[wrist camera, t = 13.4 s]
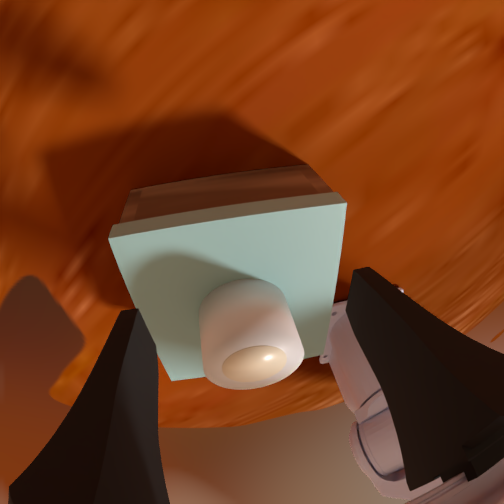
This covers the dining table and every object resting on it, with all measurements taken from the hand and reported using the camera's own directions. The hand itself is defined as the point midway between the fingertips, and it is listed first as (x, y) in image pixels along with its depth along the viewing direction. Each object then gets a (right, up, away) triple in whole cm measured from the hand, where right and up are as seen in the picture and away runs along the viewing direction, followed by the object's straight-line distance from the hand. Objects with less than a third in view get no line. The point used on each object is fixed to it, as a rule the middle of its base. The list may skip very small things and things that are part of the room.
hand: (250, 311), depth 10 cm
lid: (-1, -1, +8) cm, 8 cm away
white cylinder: (-1, -1, +7) cm, 7 cm away
